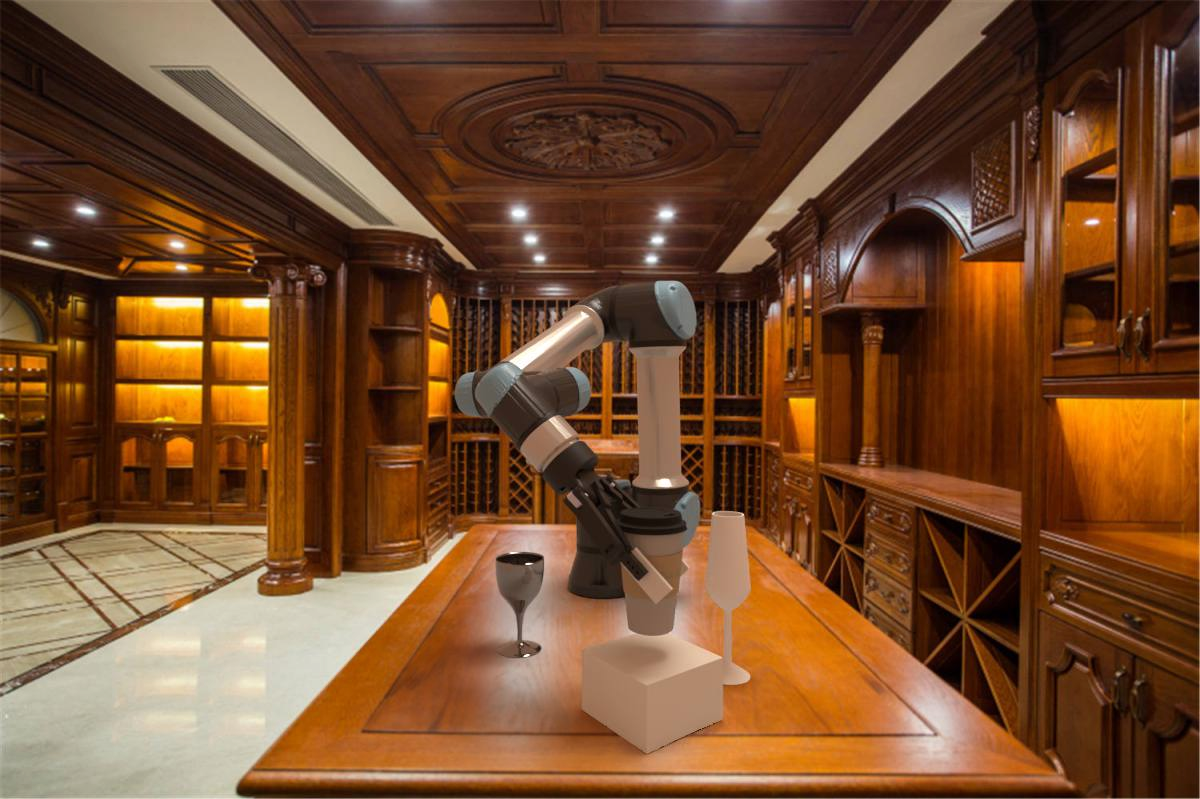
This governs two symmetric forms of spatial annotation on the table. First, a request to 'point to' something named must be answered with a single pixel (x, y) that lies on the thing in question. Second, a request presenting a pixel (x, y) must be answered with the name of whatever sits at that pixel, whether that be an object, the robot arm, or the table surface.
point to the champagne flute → (728, 579)
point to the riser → (652, 688)
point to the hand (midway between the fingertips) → (674, 584)
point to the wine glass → (519, 594)
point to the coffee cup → (663, 549)
